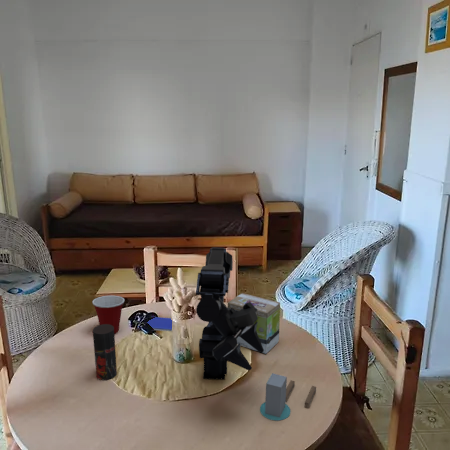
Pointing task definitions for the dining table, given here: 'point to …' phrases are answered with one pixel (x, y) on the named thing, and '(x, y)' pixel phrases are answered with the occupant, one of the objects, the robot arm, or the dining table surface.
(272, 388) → the grey block
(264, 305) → the tea box
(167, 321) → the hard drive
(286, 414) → the pad
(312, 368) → the dining table surface
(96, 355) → the deodorant
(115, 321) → the plastic cup
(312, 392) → the pair of brown bars
